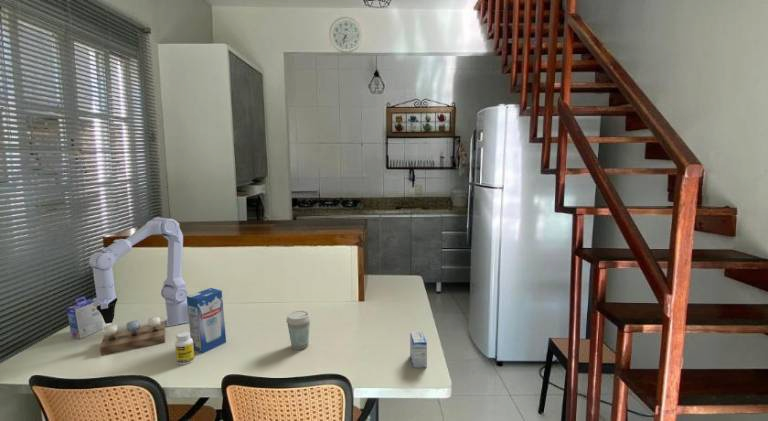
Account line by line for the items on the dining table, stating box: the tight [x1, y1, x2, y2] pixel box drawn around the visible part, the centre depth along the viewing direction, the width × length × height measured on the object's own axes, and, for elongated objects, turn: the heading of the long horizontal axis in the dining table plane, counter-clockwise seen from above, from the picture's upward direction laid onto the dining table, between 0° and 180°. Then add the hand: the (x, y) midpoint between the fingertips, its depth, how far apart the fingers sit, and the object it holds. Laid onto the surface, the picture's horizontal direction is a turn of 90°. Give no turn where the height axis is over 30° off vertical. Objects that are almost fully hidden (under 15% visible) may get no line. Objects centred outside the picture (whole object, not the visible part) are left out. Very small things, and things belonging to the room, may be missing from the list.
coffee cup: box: [286, 310, 312, 351], centre depth 150 cm, size 8×8×12 cm
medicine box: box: [409, 331, 428, 368], centre depth 138 cm, size 8×4×9 cm, turn 5°
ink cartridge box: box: [65, 296, 104, 340], centre depth 165 cm, size 10×6×14 cm, turn 161°
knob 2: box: [147, 316, 162, 331], centre depth 159 cm, size 4×4×4 cm
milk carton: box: [186, 287, 227, 354], centre depth 151 cm, size 10×6×20 cm, turn 148°
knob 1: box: [103, 324, 119, 339], centre depth 153 cm, size 4×4×4 cm
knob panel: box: [99, 322, 166, 357], centre depth 157 cm, size 20×12×3 cm, turn 117°
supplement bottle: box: [174, 331, 195, 366], centre depth 142 cm, size 5×5×10 cm
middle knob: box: [126, 320, 141, 335], centre depth 156 cm, size 4×4×4 cm
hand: (109, 321), depth 152 cm, fingers open, 3 cm apart
